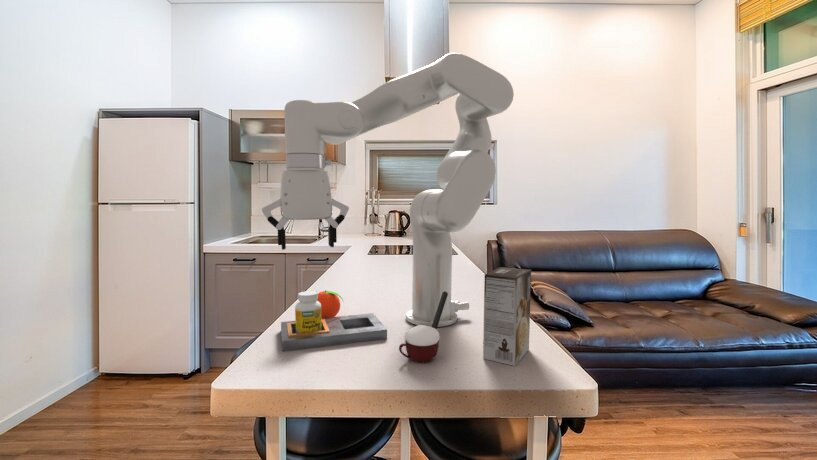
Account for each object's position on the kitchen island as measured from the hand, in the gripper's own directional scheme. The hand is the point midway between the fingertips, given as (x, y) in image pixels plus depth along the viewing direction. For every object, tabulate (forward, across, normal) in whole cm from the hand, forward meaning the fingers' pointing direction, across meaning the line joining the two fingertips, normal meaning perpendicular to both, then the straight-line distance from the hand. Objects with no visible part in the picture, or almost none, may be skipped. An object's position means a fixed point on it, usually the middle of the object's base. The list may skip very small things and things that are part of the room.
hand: (307, 247), depth 79 cm
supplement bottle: (+19, 0, 0) cm, 19 cm away
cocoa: (+20, -19, +18) cm, 32 cm away
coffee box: (+20, -34, +21) cm, 45 cm away
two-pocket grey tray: (+19, -5, 0) cm, 20 cm away
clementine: (+20, -5, -11) cm, 23 cm away
